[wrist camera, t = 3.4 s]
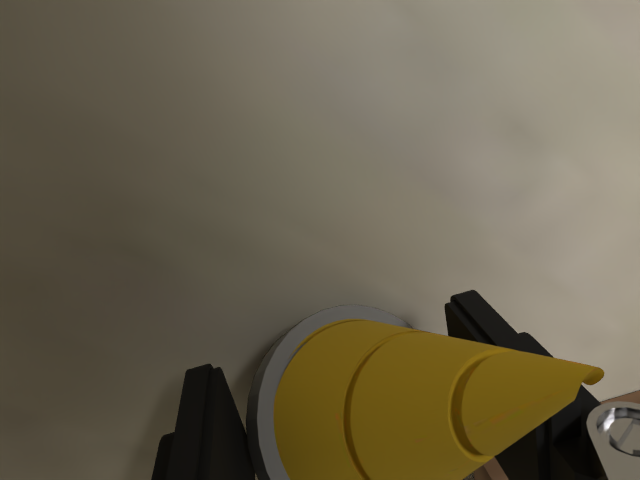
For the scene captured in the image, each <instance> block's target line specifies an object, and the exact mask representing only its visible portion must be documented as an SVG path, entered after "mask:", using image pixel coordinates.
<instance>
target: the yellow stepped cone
mask: <svg viewBox="0 0 640 480" xmlns="http://www.w3.org/2000/svg"><path fill="white" fill-rule="evenodd" d="M603 376H604V371H603V370H602V369H601V368H598V367H594V366H590V365H586V364H581V363H576V362H572V361H567V360H562V359H557V358H552V357H547V356H543V355H538V354H533V353H528V352H522V351H517V350H513V349H508V348H504V347H499V346H494V345H489V344H484V343H479V342H474V341H469V340H464V339H459V338H454V337H450V336H445V335H440V334H435V333H430V332H425V331H420V330H415V329H413V328H412V327H411V326H410V325H409V324H407V323H406V322H404V321H402V320H401V319H399V318H398V317H396V316H394V315H393V314H390V313H387V312H385V311H382V310H380V309H377V308H373V307H367V306H362V305H341V306H336V307H332V308H328V309H325V310H321V311H319V312H317V313H316V314H314V315H312V316H310V317H308V318H306V319H304V320H303V321H301V322H300V323H299V324H297V325H296V326H294V327H293V328H292V329H290V330H289V331H288V332H287V333H286V334H284V335H283V336H282V337H281V338H280V339H278V340H277V341H276V343H275V344H274V345H273V346H272V348H271V349H270V350H269V351H268V353H267V354H266V355H265V356H264V358H263V360H262V362H261V364H260V366H259V368H258V370H257V372H256V374H255V376H254V379H253V383H252V386H251V390H250V393H249V397H248V404H247V414H246V431H247V443H248V449H249V453H250V456H251V460H252V464H253V468H254V471H255V473H256V475H257V477H258V479H259V480H462V479H464V478H465V477H467V476H468V475H469V474H471V473H472V472H474V471H475V470H476V469H478V468H479V467H481V466H482V465H484V464H485V463H486V462H488V461H489V460H491V459H492V458H493V457H494V456H495V455H497V454H499V453H501V452H502V451H503V450H505V449H506V448H508V447H509V446H510V445H512V444H513V443H515V442H516V441H517V440H519V439H520V438H522V437H523V436H525V435H526V434H527V433H529V432H530V431H532V430H533V429H534V428H536V427H537V426H539V425H540V424H541V423H543V422H544V421H546V420H547V419H549V418H550V417H551V416H553V415H554V414H556V413H557V412H558V411H560V410H561V409H563V408H564V407H566V406H567V405H568V404H570V403H571V402H573V401H574V400H575V398H576V396H577V393H578V390H579V388H580V386H581V383H582V382H583V383H585V384H588V385H593V384H595V383H597V382H599V381H600V380H601V379H602V378H603Z"/></svg>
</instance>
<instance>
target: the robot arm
mask: <svg viewBox="0 0 640 480" xmlns="http://www.w3.org/2000/svg"><path fill="white" fill-rule="evenodd" d="M450 301H451V302H450V303H446V304H445V314H446V321H447V328H448V335H449V336H450V337H454V338H459V339H464V340H469V341H474V342H479V343H484V344H489V345H494V346H499V347H504V348H508V349H513V350H517V351H522V352H528V353H533V354H538V355H543V356H547V357H552V358H554V357H553V356H552V355H551V354H550V353H549V352H548V351H547V350H546V349H544V348H543V347H542V346H541V345H540V344H539V343H538V342H537V341H536V340H535V339H534V338H533V337H532V336H531V335H530V334H528V333H526V332H522V333H519V334H518V333H517V332H516V331H515V330H514V329H513V328H512V327H511V326H510V325H509V324H508V323H507V322H506V321H505V320H504V319H503V318H502V317H501V316H500V315H499V314H498V313H497V312H496V311H495V310H494V309H493V308H492V307H491V306H490V305H489V304H488V303H487V302H486V301H485V300H484V299H483V298H482V297H481V296H480V295H479V294H478V293H477V292H476V291H475V290H471V291H467V292H463V293H460V294H456V295H453V296H451V300H450ZM494 457H495V458H496V460H497V461H498V463H499V465H500V466H501V468H502V469H503V471H504V473H505V474H506V476H507V478H508V479H509V480H640V404H637V403H633V402H621V401H616V402H609V403H604V404H601V403H600V402H599V401H598V400H597V399H596V398H595V397H594V396H593V395H592V394H591V393H590V392H588V391H587V390H586V389H585V388H584V387H583V386H582V385H581V386H580V388H579V390H578V393H577V396H576V398H575V400H574V401H573V402H571V403H570V404H568V405H567V406H566V407H564V408H563V409H561V410H560V411H558V412H557V413H556V414H554V415H553V416H551V417H550V418H549V419H547V420H546V421H544V422H543V423H541V424H540V425H539V426H537V427H536V428H534V429H533V430H532V431H530V432H529V433H527V434H526V435H525V436H523V437H522V438H520V439H519V440H517V441H516V442H515V443H513V444H512V445H510V446H509V447H508V448H506V449H505V450H503V451H502V452H501V453H499V454H497V455H495V456H494ZM151 480H255V471H254V468H253V464H252V460H251V456H250V453H249V449H248V443H247V434H246V432H245V429H244V426H243V424H242V421H241V418H240V416H239V413H238V410H237V408H236V405H235V403H234V400H233V397H232V395H231V392H230V389H229V387H228V384H227V382H226V379H225V376H224V374H223V371H222V369H221V368H220V367H218V368H213V366H212V365H211V364H206V365H203V366H199V367H195V368H192V369H188V370H187V371H186V373H185V379H184V384H183V389H182V395H181V400H180V406H179V411H178V416H177V422H176V427H175V432H173V433H170V434H166V435H164V436H163V437H162V438H161V440H160V443H159V447H158V452H157V457H156V461H155V466H154V470H153V475H152V479H151Z"/></svg>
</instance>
